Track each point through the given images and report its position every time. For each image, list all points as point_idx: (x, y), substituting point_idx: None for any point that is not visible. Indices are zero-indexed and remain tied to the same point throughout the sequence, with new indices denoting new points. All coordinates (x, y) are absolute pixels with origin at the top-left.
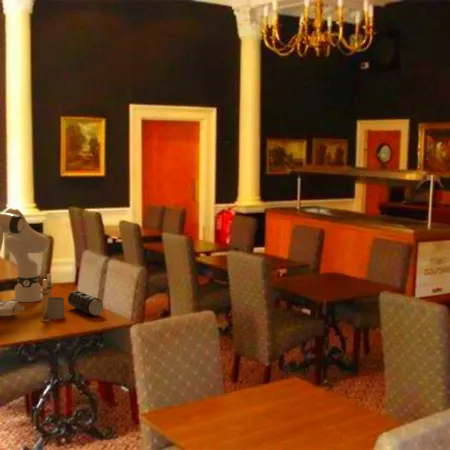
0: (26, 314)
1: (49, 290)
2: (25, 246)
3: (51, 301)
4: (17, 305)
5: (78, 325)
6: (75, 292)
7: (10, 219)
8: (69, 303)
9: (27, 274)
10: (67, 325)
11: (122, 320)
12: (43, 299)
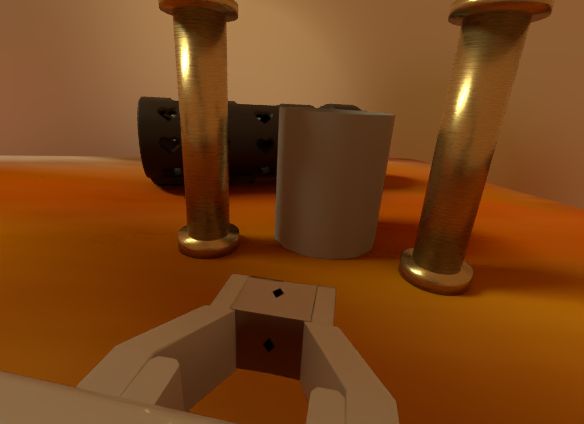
0: (77, 381)
1: (225, 51)
2: None
3: (390, 125)
4: (125, 356)
5: (496, 209)
6: (172, 101)
7: None
8: (150, 165)
9: None
10: (515, 226)
11: (394, 165)
12: (510, 92)
